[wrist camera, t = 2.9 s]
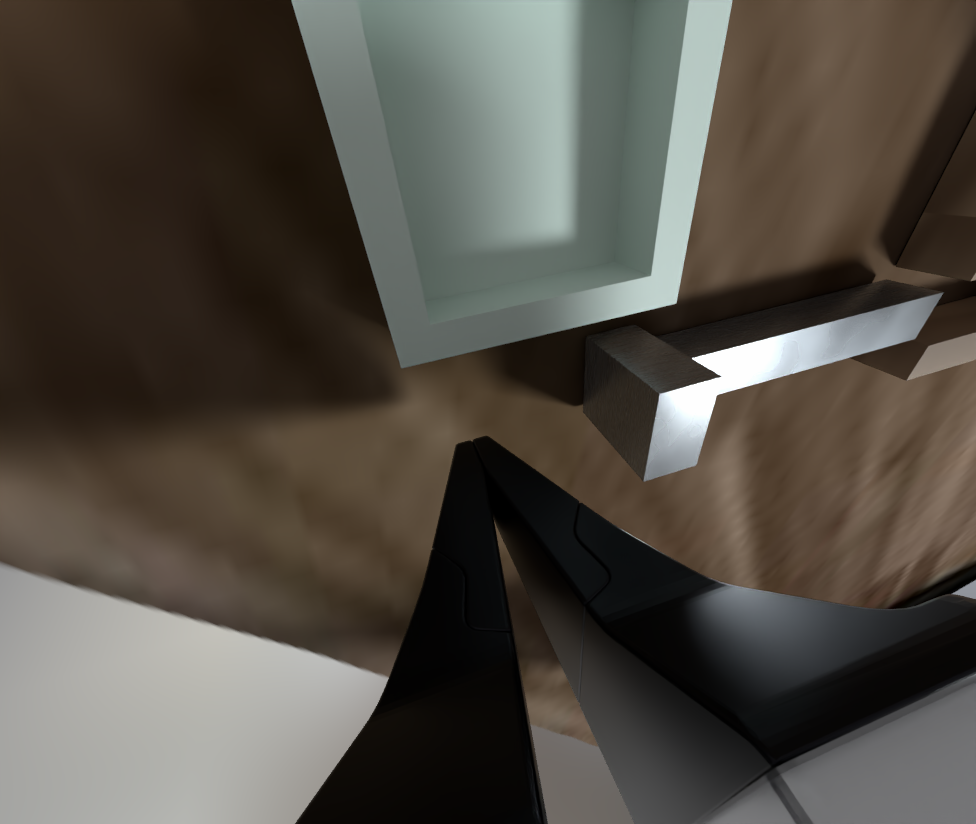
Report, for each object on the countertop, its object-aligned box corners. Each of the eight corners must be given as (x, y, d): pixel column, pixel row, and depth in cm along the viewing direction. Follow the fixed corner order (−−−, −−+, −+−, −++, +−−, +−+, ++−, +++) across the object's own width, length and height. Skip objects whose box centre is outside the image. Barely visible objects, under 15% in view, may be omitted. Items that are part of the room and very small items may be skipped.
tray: (626, 280, 10) (676, 303, 9) (395, 331, 9) (400, 368, 8) (663, -95, 6) (766, -184, 5) (277, -73, 6) (239, -176, 4)
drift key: (856, 337, 14) (973, 378, 11) (583, 412, 12) (643, 481, 10) (895, 261, 12) (1042, 289, 10) (586, 336, 11) (659, 394, 8)
